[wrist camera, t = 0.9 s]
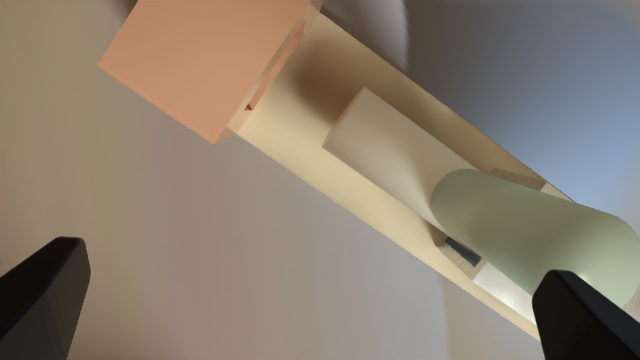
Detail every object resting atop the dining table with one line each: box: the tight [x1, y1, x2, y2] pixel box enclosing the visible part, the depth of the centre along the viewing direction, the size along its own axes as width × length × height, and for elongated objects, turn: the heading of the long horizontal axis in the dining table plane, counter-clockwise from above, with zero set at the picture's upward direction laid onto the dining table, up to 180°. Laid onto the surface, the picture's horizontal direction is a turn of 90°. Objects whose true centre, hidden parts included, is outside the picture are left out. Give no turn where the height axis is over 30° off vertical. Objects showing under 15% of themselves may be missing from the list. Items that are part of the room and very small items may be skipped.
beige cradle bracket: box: [322, 87, 640, 308], centre depth 17 cm, size 3×15×12 cm, turn 55°
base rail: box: [237, 13, 576, 342], centre depth 24 cm, size 7×26×1 cm, turn 55°
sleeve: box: [436, 167, 640, 326], centre depth 22 cm, size 5×8×5 cm, turn 55°
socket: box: [97, 0, 323, 145], centre depth 19 cm, size 7×4×7 cm, turn 145°
